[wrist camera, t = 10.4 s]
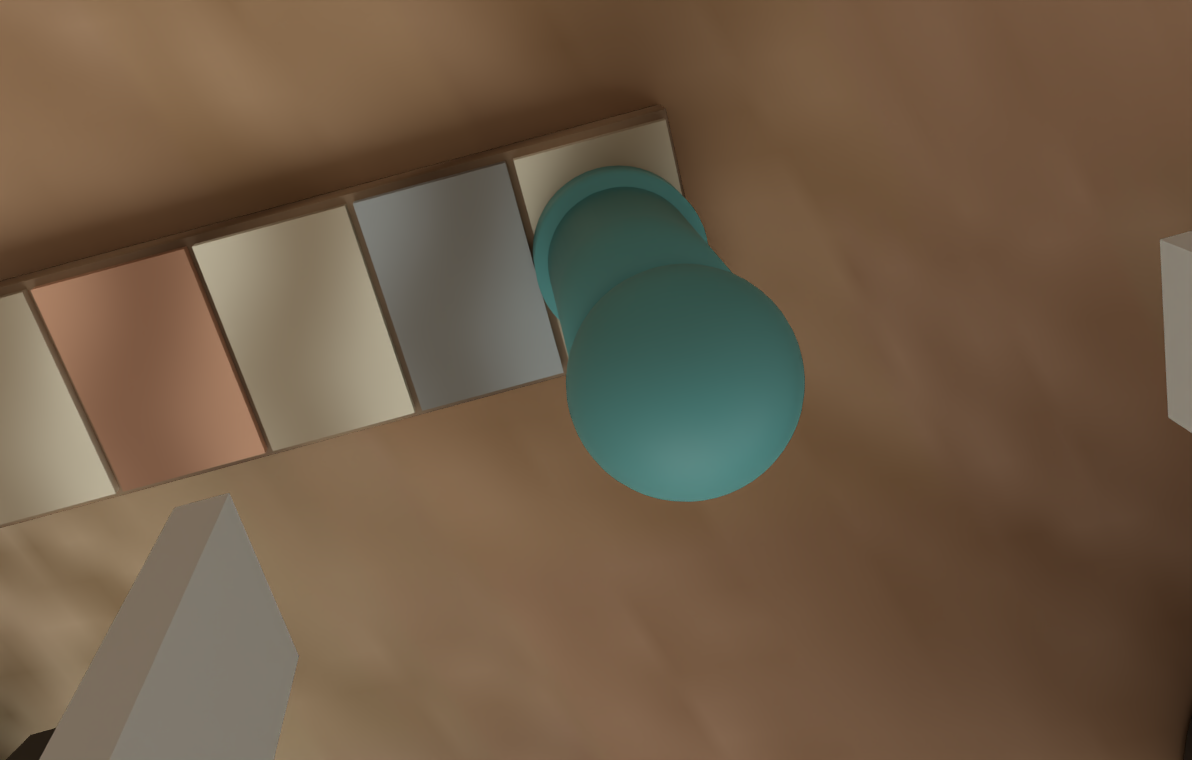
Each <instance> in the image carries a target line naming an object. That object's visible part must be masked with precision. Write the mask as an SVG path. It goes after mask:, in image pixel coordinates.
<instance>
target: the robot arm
mask: <svg viewBox="0 0 1192 760" xmlns="http://www.w3.org/2000/svg"><path fill="white" fill-rule="evenodd" d="M1160 252H1161V274H1162V295H1163V316H1164V338H1165V359H1166V380H1167V402H1168V418H1170V419H1171V420H1173V421H1174V422H1176V423H1177V424H1179V425H1180V426H1182V427H1183V428H1185V429H1187V430H1188V431H1190V432H1191V433H1192V231H1189V232H1185V233H1182V234H1178V235H1174V236H1171V237H1167V238H1163V239H1160ZM298 658H299V655H298V653H297V651H296V648H295V646H294V644H293V641H292V639H291V636H290V634H289V632H288V629H287V627H286V625H285V622H284V620H283V618H282V615H281V613H280V611H279V608H278V606H277V604H276V601H275V599H274V597H273V594H272V592H271V590H270V587H269V585H268V583H267V580H266V578H265V576H264V573H263V571H262V568H261V566H260V564H259V561H258V559H257V557H256V554H255V552H254V550H253V547H252V545H251V543H250V540H249V538H248V536H247V533H246V531H245V529H244V526H243V524H242V522H241V519H240V517H239V515H238V512H237V510H236V508H235V505H234V503H233V500H232V498H231V496H230V493H227V494H223V495H219V496H216V497H212V498H208V499H205V500H201V501H197V502H193V503H190V504H186V505H182V506H179V507H175V508H174V509H173V511H172V513H171V515H170V517H169V518H168V520H167V522H166V524H165V526H164V528H163V530H162V532H161V533H160V535H159V537H158V539H157V541H156V543H155V545H154V546H153V548H152V550H151V552H150V554H149V556H148V558H147V560H146V561H145V563H144V565H143V567H142V569H141V571H140V573H139V574H138V576H137V578H136V580H135V582H134V584H133V586H132V588H131V589H130V591H129V593H128V595H127V597H126V599H125V601H124V602H123V604H122V606H121V608H120V610H119V612H118V614H117V615H116V617H115V619H114V621H113V623H112V625H111V627H110V629H109V630H108V632H107V634H106V636H105V638H104V640H103V642H102V643H101V645H100V647H99V649H98V651H97V653H96V655H95V657H94V658H93V660H92V662H91V664H90V666H89V668H88V670H87V671H86V673H85V675H84V677H83V679H82V681H81V683H80V684H79V686H78V688H77V690H76V692H75V694H74V696H73V698H72V699H71V701H70V703H69V705H68V707H67V709H66V711H65V712H64V714H63V716H62V718H61V720H60V722H59V724H58V726H57V727H56V728H54V729H51V730H47V731H43V732H40V733H36V734H32V735H30V736H29V737H28V738H27V739H26V740H25V741H24V742H23V743H22V744H21V745H20V746H19V747H18V748H17V749H16V750H15V751H14V752H13V753H12V754H11V755H10V756H9V757H8V758H7V759H6V760H274V756H275V752H276V748H277V744H278V740H279V736H280V732H281V728H282V724H283V719H284V715H285V711H286V707H287V703H288V699H289V695H290V691H291V686H292V682H293V678H294V674H295V670H296V666H297V662H298ZM1184 760H1192V718H1191V721H1190V725H1189V729H1188V733H1187V739H1186V745H1185V756H1184Z"/></svg>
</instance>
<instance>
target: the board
mask: <svg viewBox="0 0 1192 760" xmlns="http://www.w3.org/2000/svg"><path fill="white" fill-rule="evenodd" d="M617 165H620V166H632V167H636V168H641V169H644V170H647V171H650V172H652V173H654V174H656V175H658V176H660V177H662V178H663V179H665V180H666V181H667V182H669V183H670V184H671V185H672V186H673V187H674V188H676V189H677V190H678V191H679V192H680V193H681V195H682V196H683V197H684V198H685V195H684V190H683V185H682V181H681V176H680V172H679V167H678V163H677V158H676V153H675V149H674V144H673V140H672V135H671V131H670V126H669V121H668V117H667V112H666V109H665V108H664V107H662V106H661V105H655V106H652V107H648V108H644V109H640V110H637V111H633V112H629V113H625V114H622V115H618V116H614V117H610V118H607V119H603V120H599V121H596V122H592V123H588V124H584V125H581V126H577V127H573V128H569V129H566V130H562V131H558V132H555V133H551V134H547V135H543V136H540V137H536V138H532V139H528V140H525V141H521V142H517V143H514V144H510V145H506V146H502V147H499V148H495V149H491V150H487V151H484V152H480V153H476V154H473V155H469V156H465V157H461V158H458V159H454V160H450V161H446V162H443V163H439V164H435V165H432V166H428V167H424V168H420V169H417V170H413V171H409V172H405V173H402V174H398V175H394V176H391V177H387V178H383V179H379V180H376V181H372V182H368V183H364V184H361V185H357V186H353V187H350V188H346V189H342V190H338V191H335V192H331V193H327V194H323V195H320V196H316V197H312V198H309V199H305V200H301V201H297V202H294V203H290V204H286V205H282V206H279V207H275V208H271V209H268V210H264V211H260V212H256V213H253V214H249V215H245V216H241V217H238V218H234V219H230V220H227V221H223V222H219V223H215V224H212V225H208V226H204V227H200V228H197V229H193V230H189V231H185V232H182V233H178V234H174V235H171V236H167V237H163V238H159V239H156V240H152V241H148V242H144V243H141V244H137V245H133V246H130V247H126V248H122V249H118V250H115V251H111V252H107V253H103V254H100V255H96V256H92V257H89V258H85V259H81V260H77V261H74V262H70V263H66V264H62V265H59V266H55V267H51V268H48V269H44V270H40V271H36V272H33V273H29V274H25V275H21V276H18V277H14V278H10V279H7V280H3V281H0V528H2V527H6V526H10V525H14V524H17V523H21V522H25V521H28V520H32V519H36V518H39V517H43V516H47V515H51V514H54V513H58V512H62V511H65V510H69V509H73V508H77V507H80V506H84V505H88V504H91V503H95V502H99V501H102V500H106V499H110V498H114V497H117V496H121V495H125V494H128V493H132V492H136V491H139V490H143V489H147V488H151V487H154V486H158V485H162V484H165V483H169V482H173V481H176V480H180V479H184V478H188V477H191V476H195V475H199V474H202V473H206V472H210V471H213V470H217V469H221V468H225V467H228V466H232V465H236V464H239V463H243V462H247V461H250V460H254V459H258V458H262V457H265V456H269V455H273V454H276V453H280V452H284V451H287V450H291V449H295V448H299V447H302V446H306V445H310V444H313V443H317V442H321V441H324V440H328V439H332V438H336V437H339V436H343V435H347V434H350V433H354V432H358V431H361V430H365V429H369V428H373V427H376V426H380V425H384V424H387V423H391V422H395V421H398V420H402V419H406V418H410V417H413V416H417V415H421V414H424V413H428V412H432V411H435V410H439V409H443V408H447V407H450V406H454V405H458V404H461V403H465V402H469V401H472V400H476V399H480V398H484V397H487V396H491V395H495V394H498V393H502V392H506V391H509V390H513V389H517V388H521V387H524V386H528V385H532V384H535V383H539V382H543V381H546V380H550V379H554V378H558V377H561V376H565V375H566V373H567V363H568V359H569V357H568V353H567V349H566V344H565V340H564V336H563V332H562V328H561V324H560V320H559V319H558V318H557V317H556V316H555V315H554V314H553V313H552V311H551V310H550V308H549V307H548V305H547V304H546V302H545V300H544V298H543V296H542V294H541V291H540V288H539V285H538V281H537V276H536V271H535V266H534V261H533V239H534V234H535V229H536V226H537V223H538V220H539V218H540V216H541V214H542V212H543V210H544V208H545V206H546V205H547V203H548V202H549V200H550V199H551V198H552V197H553V196H554V194H555V193H556V192H557V191H558V190H559V189H560V188H561V187H563V186H564V185H565V184H566V183H567V182H569V181H570V180H572V179H573V178H575V177H577V176H579V175H581V174H583V173H585V172H587V171H590V170H593V169H596V168H601V167H606V166H617Z"/></svg>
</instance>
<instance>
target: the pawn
mask: <svg viewBox="0 0 1192 760" xmlns="http://www.w3.org/2000/svg"><path fill="white" fill-rule="evenodd" d="M533 261H534V266H535V271H536V276H537V281H538V285H539V288H540V291H541V294H542V296H543V298H544V300H545V302H546V304H547V305H548V307H549V308H550V310H551V311H552V313H553V314H554V315H555V316H556V317H557V318H558V319H559V320H560V324H561V328H562V332H563V336H564V340H565V344H566V349H567V353H568V357H569V359H568V363H567V373H566V390H567V402H568V407H569V411H570V415H571V418H572V421H573V424H574V426H575V429H576V431H577V434H578V436H579V437H580V439H581V441H582V443H583V445H584V446H585V448H586V449H587V451H588V452H589V453H590V455H591V456H592V457H593V459H594V460H595V461H596V462H597V463H598V464H599V465H600V466H601V467H602V468H603V469H604V470H605V471H606V472H607V473H608V474H609V475H611V476H612V477H613V478H615V479H616V480H617V481H619V482H621V483H622V484H624V485H626V486H627V487H629V488H631V489H633V490H635V491H637V492H640V493H642V494H644V495H647V496H651V497H654V498H658V499H663V500H669V501H686V502H692V501H703V500H708V499H713V498H717V497H720V496H723V495H726V494H729V493H732V492H734V491H736V490H738V489H740V488H742V487H744V486H746V485H747V484H749V483H750V482H752V481H754V480H755V479H756V478H757V477H759V476H760V475H761V474H763V473H764V472H765V471H766V470H767V469H768V468H769V467H770V466H771V465H772V464H773V463H774V462H775V461H776V459H777V458H778V457H779V456H780V454H781V453H782V452H783V450H784V449H785V447H786V446H787V444H788V442H789V441H790V439H791V437H792V435H793V433H794V431H795V428H796V426H797V424H798V421H799V417H800V414H801V411H802V404H803V398H804V389H805V375H804V366H803V360H802V356H801V352H800V349H799V345H798V342H797V340H796V337H795V335H794V332H793V330H792V328H791V327H790V325H789V323H788V322H787V320H786V318H785V317H784V315H783V314H782V312H781V311H780V310H779V309H778V307H777V306H776V305H775V304H774V302H773V301H772V300H771V299H770V298H768V297H767V296H766V295H765V294H764V293H763V292H762V291H761V290H759V289H758V288H757V287H755V286H754V285H752V284H751V283H749V282H748V281H746V280H745V279H743V278H741V277H739V276H737V275H735V274H733V273H732V272H731V271H730V270H729V269H728V267H727V266H726V265H725V264H724V263H723V262H722V260H721V259H720V258H719V257H718V256H717V255H716V253H715V252H714V251H713V250H712V249H711V248H710V246H709V245H708V242H707V237H706V234H705V230H704V227H703V225H702V223H701V220H700V218H699V216H698V215H697V213H696V212H695V210H694V208H693V207H692V206H691V205H690V204H689V202H688V201H687V200H686V199H685V198H684V197H683V196H682V195H681V193H680V192H679V191H678V190H677V189H676V188H674V187H673V186H672V185H671V184H670V183H669V182H667V181H666V180H665V179H663V178H662V177H660V176H658V175H656V174H654V173H652V172H650V171H647V170H644V169H641V168H636V167H632V166H620V165H617V166H606V167H601V168H596V169H593V170H590V171H587V172H585V173H583V174H581V175H579V176H577V177H575V178H573V179H572V180H570V181H569V182H567V183H566V184H565V185H564V186H563V187H561V188H560V189H559V190H558V191H557V192H556V193H555V194H554V196H553V197H552V198H551V199H550V200H549V202H548V203H547V205H546V206H545V208H544V210H543V212H542V214H541V216H540V218H539V220H538V223H537V226H536V229H535V234H534V239H533Z"/></svg>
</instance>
